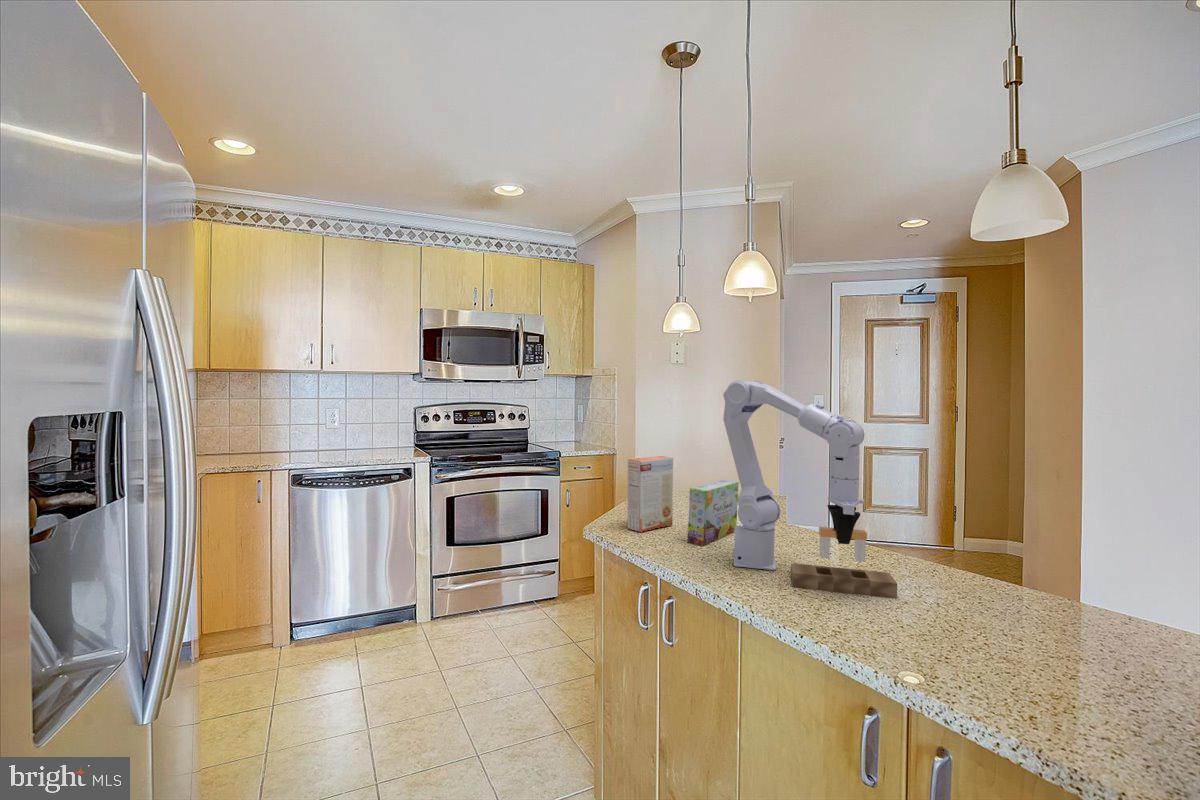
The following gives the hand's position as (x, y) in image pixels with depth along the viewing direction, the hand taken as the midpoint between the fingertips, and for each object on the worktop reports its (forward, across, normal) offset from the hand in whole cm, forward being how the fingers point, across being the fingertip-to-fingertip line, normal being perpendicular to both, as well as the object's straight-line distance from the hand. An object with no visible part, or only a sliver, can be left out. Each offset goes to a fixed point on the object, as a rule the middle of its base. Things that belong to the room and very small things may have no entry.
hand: (842, 541), depth 118 cm
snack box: (+10, +32, +29) cm, 44 cm away
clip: (+4, 0, 0) cm, 4 cm away
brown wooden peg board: (+10, 0, 0) cm, 10 cm away
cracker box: (+10, +36, +48) cm, 61 cm away
